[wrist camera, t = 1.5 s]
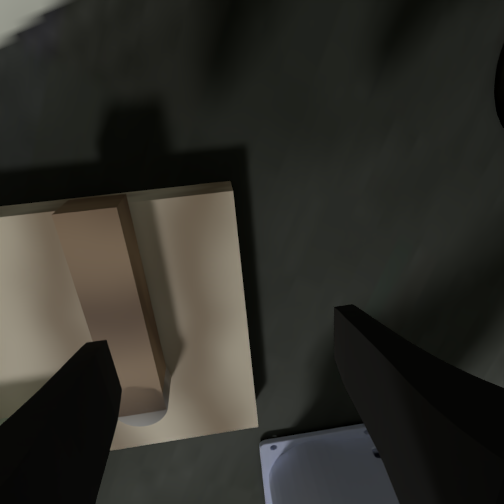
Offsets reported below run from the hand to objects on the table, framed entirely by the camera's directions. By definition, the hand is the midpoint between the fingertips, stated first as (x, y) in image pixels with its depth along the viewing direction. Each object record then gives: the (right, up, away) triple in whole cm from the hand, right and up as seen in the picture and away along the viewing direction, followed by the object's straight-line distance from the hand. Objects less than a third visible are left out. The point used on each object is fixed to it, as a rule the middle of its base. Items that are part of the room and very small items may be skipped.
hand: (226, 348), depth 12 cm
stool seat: (-8, -1, +10) cm, 13 cm away
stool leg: (-6, 0, +7) cm, 9 cm away
